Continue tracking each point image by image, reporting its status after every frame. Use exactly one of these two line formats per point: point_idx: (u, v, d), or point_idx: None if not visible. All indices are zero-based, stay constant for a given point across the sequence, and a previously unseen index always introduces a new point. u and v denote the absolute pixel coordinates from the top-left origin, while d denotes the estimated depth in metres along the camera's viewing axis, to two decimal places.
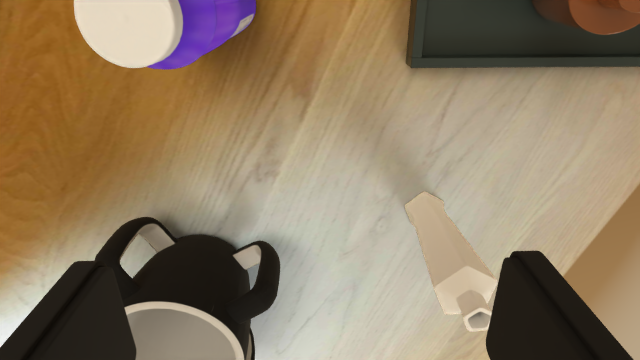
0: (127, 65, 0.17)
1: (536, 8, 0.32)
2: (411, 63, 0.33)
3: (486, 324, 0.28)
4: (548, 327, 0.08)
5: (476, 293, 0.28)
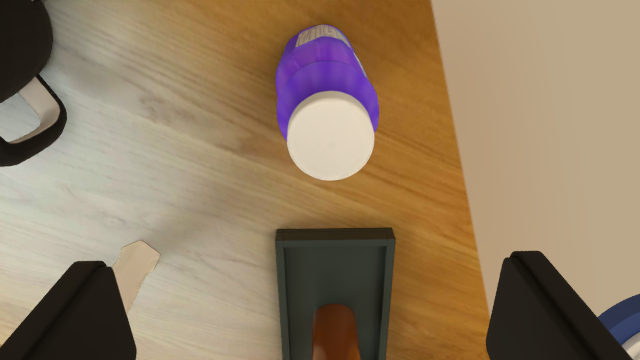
0: (289, 137, 0.18)
1: (321, 311, 0.44)
2: (278, 240, 0.39)
3: None
4: (548, 327, 0.08)
5: None
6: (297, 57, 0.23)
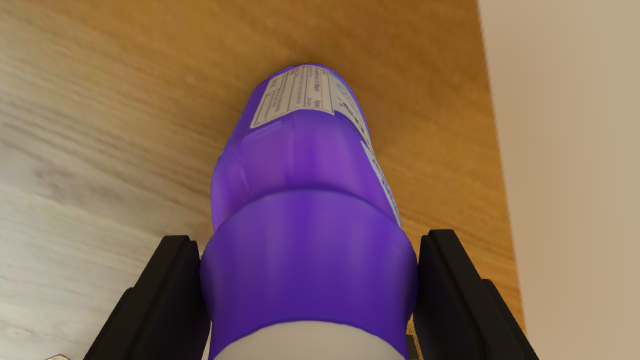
0: None
1: None
2: None
3: None
4: (444, 293, 0.08)
5: None
6: (248, 161, 0.11)
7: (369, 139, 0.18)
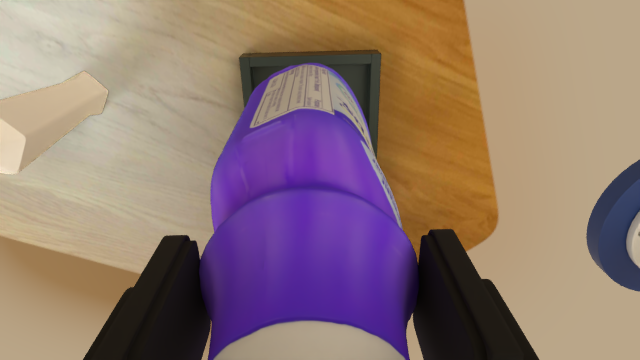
0: None
1: None
2: (243, 57, 0.33)
3: None
4: (444, 293, 0.08)
5: None
6: (248, 161, 0.11)
7: (369, 139, 0.18)
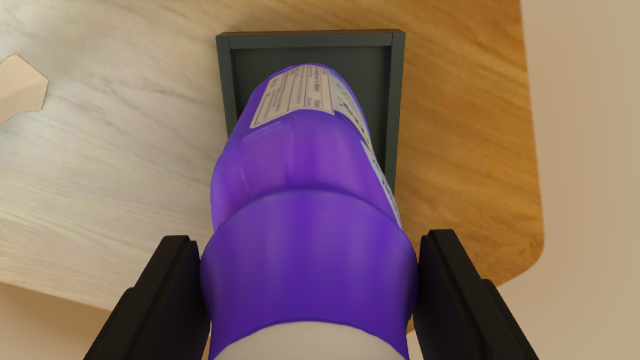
0: None
1: None
2: (221, 36, 0.25)
3: None
4: (444, 293, 0.08)
5: None
6: (248, 161, 0.11)
7: (369, 139, 0.18)
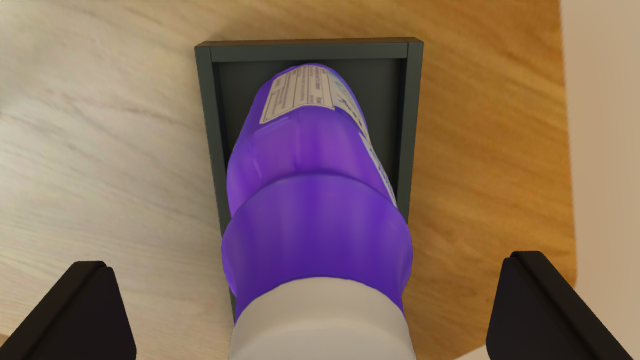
0: None
1: None
2: (201, 46, 0.21)
3: None
4: (548, 327, 0.08)
5: None
6: (260, 152, 0.13)
7: (367, 132, 0.20)
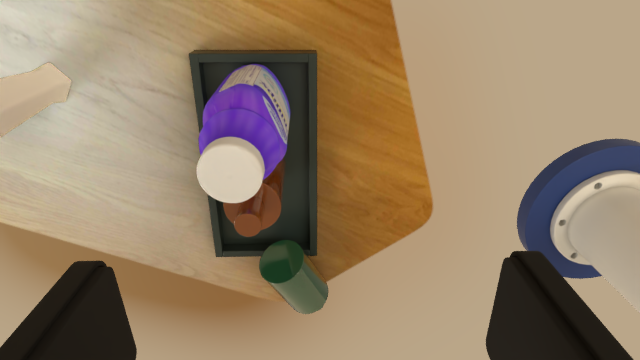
0: (197, 172, 0.25)
1: None
2: (192, 53, 0.37)
3: None
4: (548, 327, 0.08)
5: None
6: (216, 102, 0.29)
7: (283, 102, 0.36)
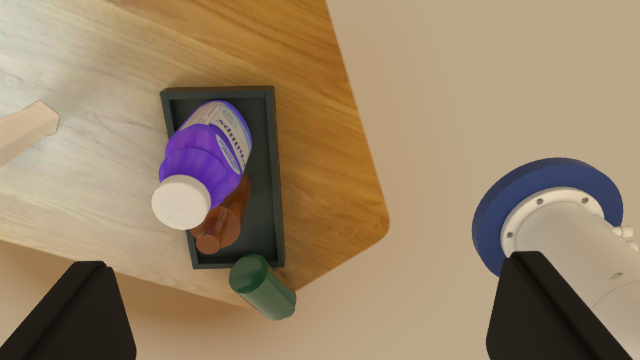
0: (152, 205, 0.29)
1: None
2: (163, 92, 0.42)
3: None
4: (548, 327, 0.08)
5: None
6: (175, 141, 0.34)
7: (242, 134, 0.41)
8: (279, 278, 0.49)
